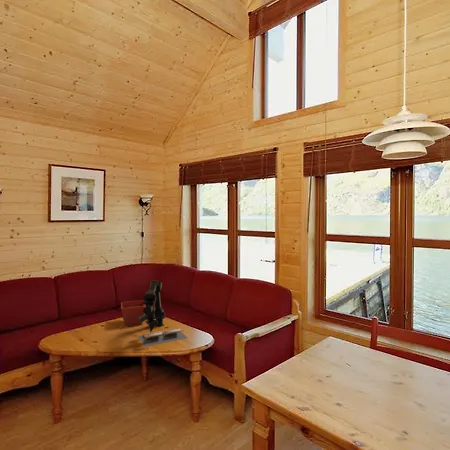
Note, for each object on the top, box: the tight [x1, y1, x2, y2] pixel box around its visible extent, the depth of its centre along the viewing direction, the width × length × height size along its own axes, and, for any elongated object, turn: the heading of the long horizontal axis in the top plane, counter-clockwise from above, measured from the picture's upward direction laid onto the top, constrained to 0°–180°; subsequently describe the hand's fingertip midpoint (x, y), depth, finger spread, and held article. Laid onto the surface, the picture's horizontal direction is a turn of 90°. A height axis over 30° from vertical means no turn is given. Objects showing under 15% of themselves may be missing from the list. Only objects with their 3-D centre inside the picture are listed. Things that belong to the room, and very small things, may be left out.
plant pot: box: [120, 299, 146, 327], centre depth 274 cm, size 19×19×17 cm
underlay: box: [137, 331, 188, 348], centre depth 244 cm, size 22×32×1 cm
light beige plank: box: [146, 332, 162, 339], centre depth 238 cm, size 10×10×2 cm
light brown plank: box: [142, 327, 176, 339], centre depth 249 cm, size 6×25×2 cm, turn 117°
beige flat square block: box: [164, 328, 182, 336], centre depth 245 cm, size 10×10×2 cm
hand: (150, 331), depth 234 cm, fingers closed
